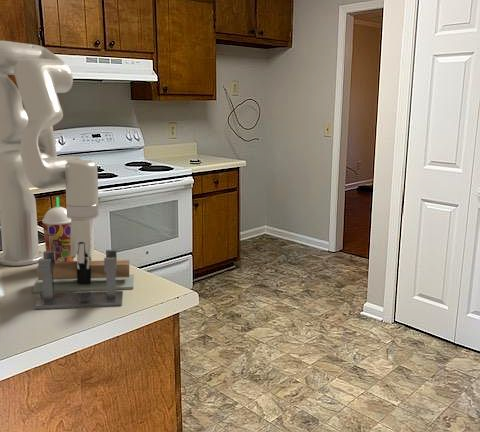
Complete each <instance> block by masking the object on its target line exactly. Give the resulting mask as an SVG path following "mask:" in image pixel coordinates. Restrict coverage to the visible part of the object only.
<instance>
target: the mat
mask: <svg viewBox="0 0 480 432" xmlns="http://www.w3.org/2000/svg"><path fill="white" fill-rule="evenodd" d="M134 280H135V279H134V274H129V277H122V278H116V291H120V290H119V289H121V290H133V289H134ZM31 291H32V294H34V293H35V294H36V293H41V292H42V293H43V280H38V279H37V280H36V283H35V284H34V286H33V287H32V290H31ZM93 291H94V292H96V291H107V281H106V278H91V283H90V284H78V283H77V279H56V280H54V293H64V292H65V293H69V292H93ZM42 293H41V294H42Z"/></svg>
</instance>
